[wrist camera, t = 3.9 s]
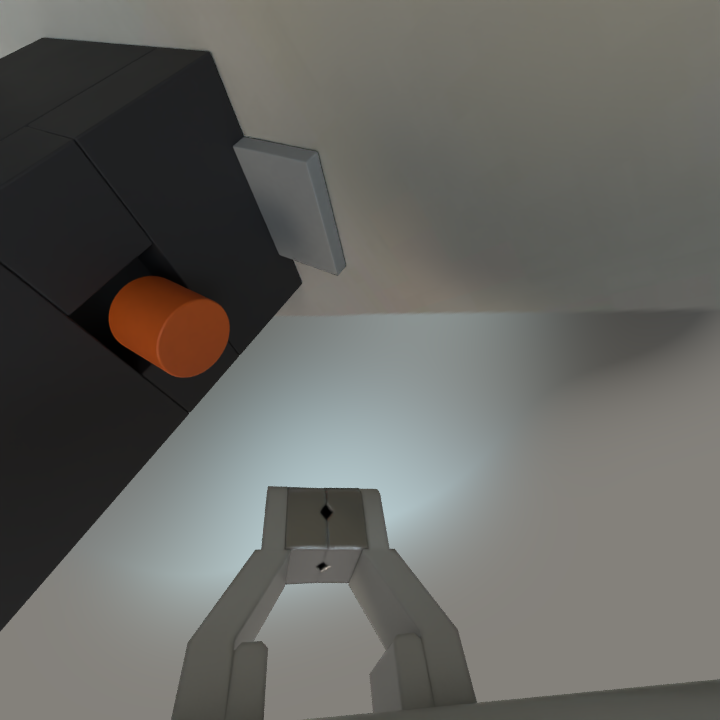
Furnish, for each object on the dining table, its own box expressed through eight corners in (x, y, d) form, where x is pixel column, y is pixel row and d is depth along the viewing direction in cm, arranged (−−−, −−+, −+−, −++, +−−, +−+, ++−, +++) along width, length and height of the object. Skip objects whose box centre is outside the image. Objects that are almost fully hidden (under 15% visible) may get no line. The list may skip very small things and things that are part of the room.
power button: (205, 281, 14) (138, 347, 12) (242, 333, 16) (189, 392, 15) (153, 258, 15) (88, 316, 14) (195, 311, 18) (143, 363, 16)
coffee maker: (295, 57, 12) (-1492, 1401, 3) (355, 304, 22) (-13, 788, 13) (43, 37, 19) (-777, 445, 9) (178, 235, 28) (-153, 527, 19)
